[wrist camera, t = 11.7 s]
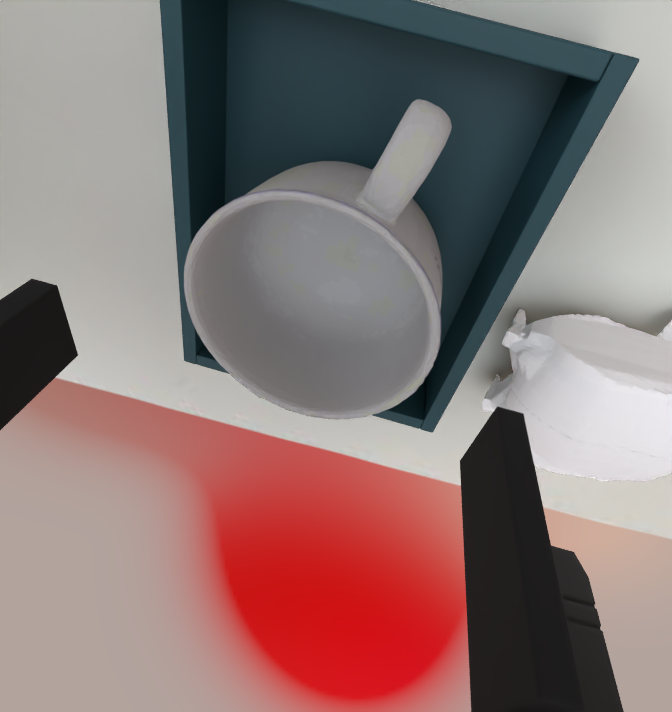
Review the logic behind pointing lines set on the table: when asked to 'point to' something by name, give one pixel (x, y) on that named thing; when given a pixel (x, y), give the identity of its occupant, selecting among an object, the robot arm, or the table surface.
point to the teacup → (327, 280)
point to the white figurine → (590, 396)
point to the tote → (387, 133)
